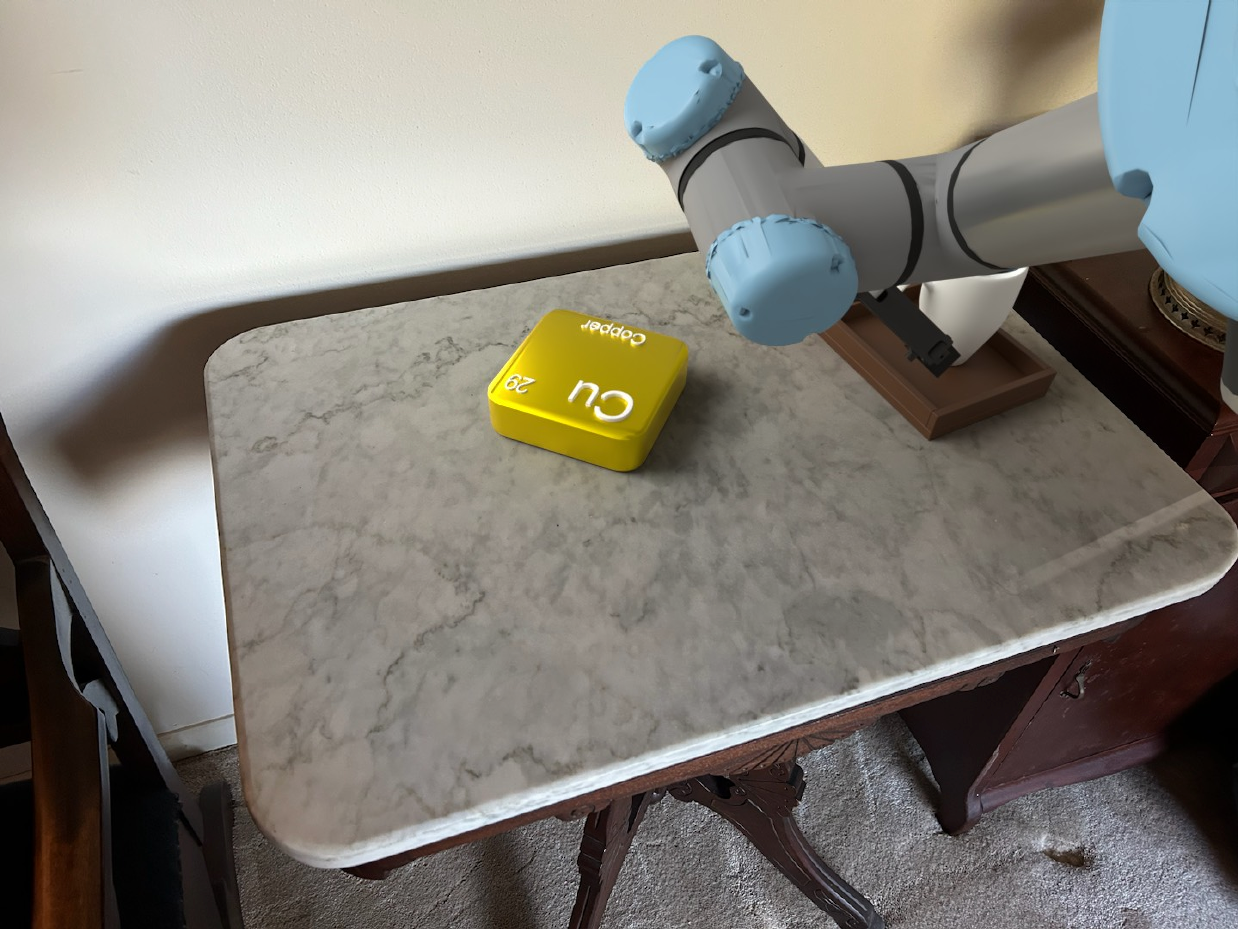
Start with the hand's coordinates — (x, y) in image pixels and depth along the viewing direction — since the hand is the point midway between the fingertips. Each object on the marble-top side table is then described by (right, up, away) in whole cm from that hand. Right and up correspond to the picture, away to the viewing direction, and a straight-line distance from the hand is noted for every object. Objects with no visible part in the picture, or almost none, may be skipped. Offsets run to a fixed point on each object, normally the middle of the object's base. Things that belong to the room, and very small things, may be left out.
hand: (896, 321), depth 77 cm
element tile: (-28, -7, +3) cm, 29 cm away
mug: (+5, -2, +7) cm, 9 cm away
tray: (+5, -3, +7) cm, 10 cm away
